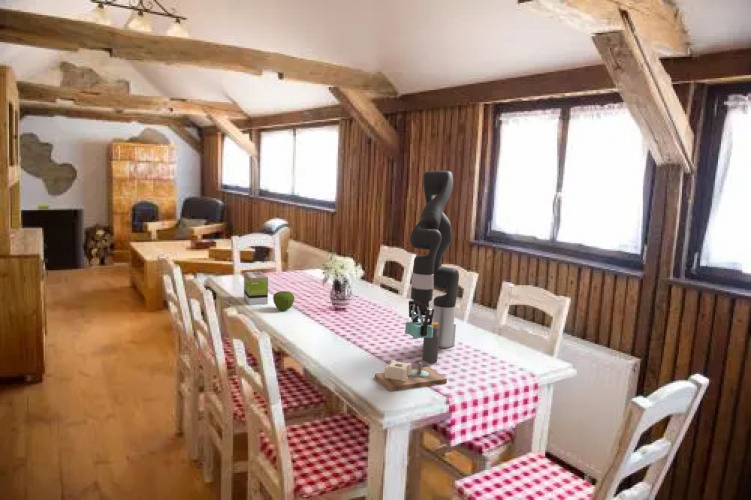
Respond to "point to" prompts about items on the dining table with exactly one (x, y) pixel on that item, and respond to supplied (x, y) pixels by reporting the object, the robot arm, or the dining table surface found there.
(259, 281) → the tea box
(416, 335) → the teal gear
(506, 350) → the dining table surface
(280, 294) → the apple
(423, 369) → the board
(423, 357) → the bottle
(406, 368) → the cream gear
